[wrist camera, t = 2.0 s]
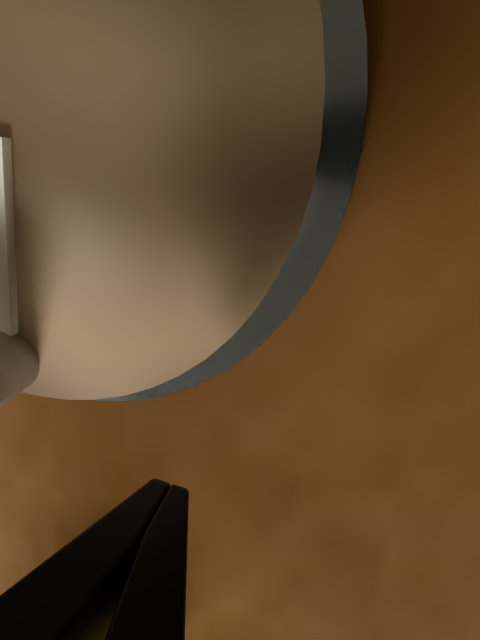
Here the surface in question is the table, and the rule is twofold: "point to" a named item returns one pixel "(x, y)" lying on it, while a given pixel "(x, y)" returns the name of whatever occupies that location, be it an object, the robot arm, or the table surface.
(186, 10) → the dial
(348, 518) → the table surface
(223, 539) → the table surface
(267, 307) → the dial housing
